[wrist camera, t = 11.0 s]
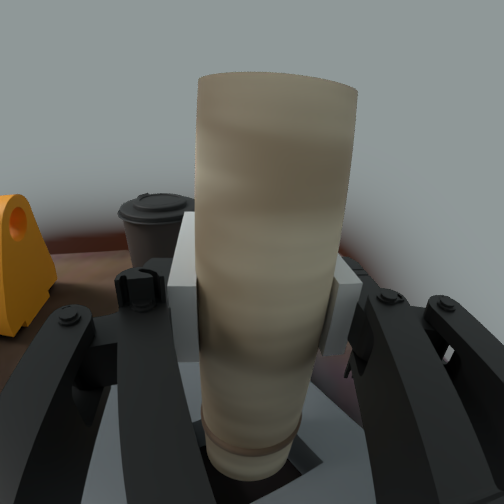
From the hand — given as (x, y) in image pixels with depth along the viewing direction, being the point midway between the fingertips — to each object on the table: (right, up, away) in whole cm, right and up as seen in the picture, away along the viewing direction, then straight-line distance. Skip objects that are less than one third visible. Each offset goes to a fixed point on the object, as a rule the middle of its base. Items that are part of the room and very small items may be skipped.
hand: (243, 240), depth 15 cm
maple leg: (0, -10, -1) cm, 10 cm away
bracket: (-25, -7, +11) cm, 28 cm away
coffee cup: (-9, -5, +18) cm, 20 cm away
